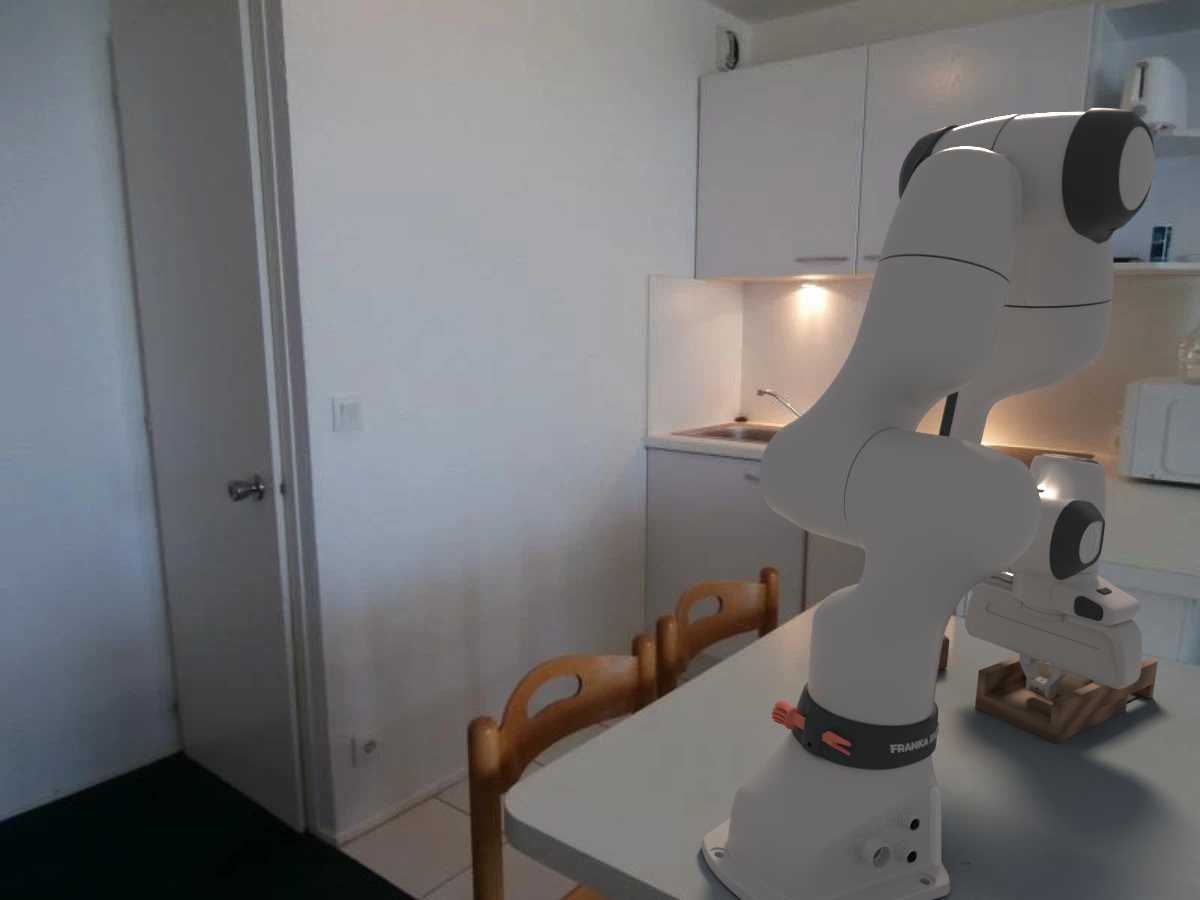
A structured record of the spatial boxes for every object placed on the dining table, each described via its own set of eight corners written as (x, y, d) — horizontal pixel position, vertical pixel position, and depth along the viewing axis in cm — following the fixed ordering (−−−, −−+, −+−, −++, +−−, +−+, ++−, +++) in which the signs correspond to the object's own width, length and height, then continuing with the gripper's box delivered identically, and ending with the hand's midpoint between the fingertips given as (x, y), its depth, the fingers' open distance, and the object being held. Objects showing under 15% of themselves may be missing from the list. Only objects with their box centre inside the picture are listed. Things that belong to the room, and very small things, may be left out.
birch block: (1079, 702, 104) (1083, 672, 104) (1032, 684, 109) (1036, 654, 109) (1104, 691, 108) (1108, 661, 107) (1058, 673, 113) (1061, 645, 112)
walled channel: (1056, 743, 98) (1061, 701, 97) (974, 707, 107) (978, 668, 106) (1152, 697, 111) (1158, 659, 110) (1072, 668, 119) (1076, 632, 118)
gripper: (960, 566, 109) (950, 668, 112) (1128, 616, 92) (1112, 735, 95) (989, 560, 113) (978, 658, 115) (1156, 607, 96) (1140, 721, 98)
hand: (1040, 693), depth 105 cm, fingers closed
